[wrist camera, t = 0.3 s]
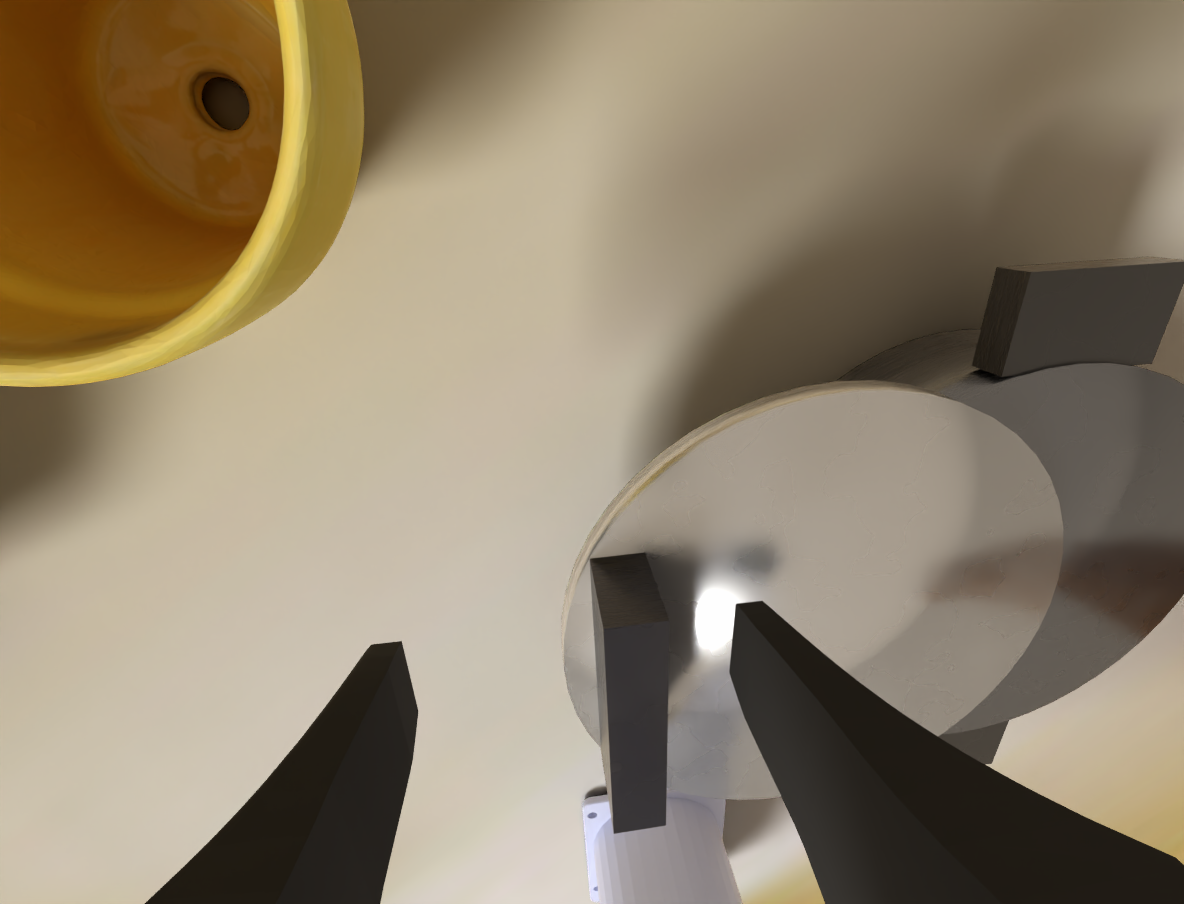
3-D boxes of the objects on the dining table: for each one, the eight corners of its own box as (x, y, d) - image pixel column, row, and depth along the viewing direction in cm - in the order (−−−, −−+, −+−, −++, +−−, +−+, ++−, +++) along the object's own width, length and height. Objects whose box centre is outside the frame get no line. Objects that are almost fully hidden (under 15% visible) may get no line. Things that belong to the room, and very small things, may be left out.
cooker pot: (1016, 665, 29) (1105, 749, 25) (730, 706, 28) (770, 803, 24) (1180, 238, 20) (1369, 249, 16) (767, 265, 19) (846, 286, 14)
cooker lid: (968, 742, 23) (1047, 838, 20) (576, 802, 21) (587, 917, 18) (1108, 357, 16) (1270, 400, 12) (539, 406, 14) (546, 471, 11)
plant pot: (329, -199, 13) (-66, -1031, 4) (473, 248, 18) (427, 297, 9) (-93, -85, 13) (-1393, -692, 4) (160, 333, 17) (-204, 470, 9)
